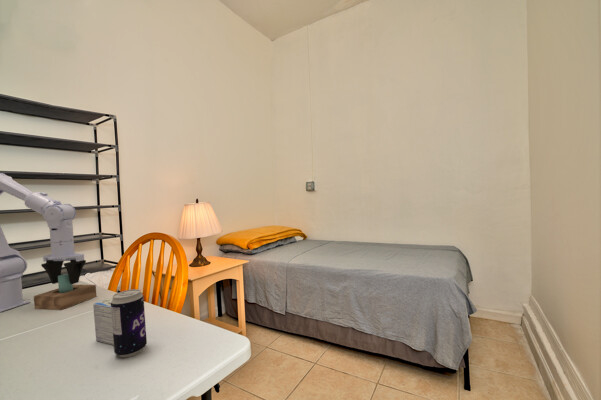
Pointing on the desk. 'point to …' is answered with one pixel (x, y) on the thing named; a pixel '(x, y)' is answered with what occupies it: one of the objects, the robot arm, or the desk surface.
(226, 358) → the desk surface
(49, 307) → the walnut socket block
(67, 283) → the teal peg
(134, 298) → the beverage can
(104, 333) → the medicine box
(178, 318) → the desk surface
